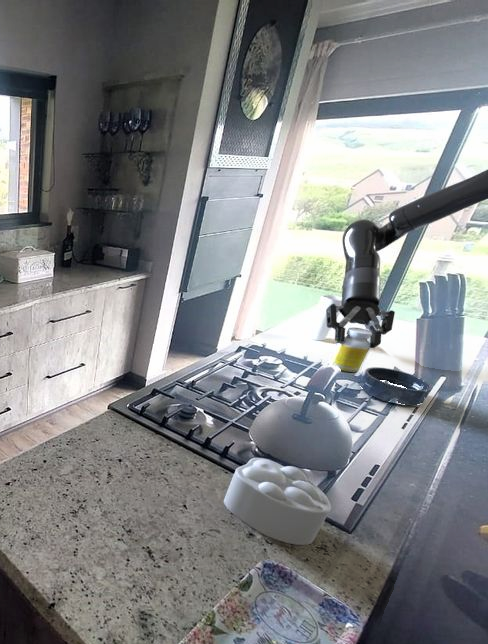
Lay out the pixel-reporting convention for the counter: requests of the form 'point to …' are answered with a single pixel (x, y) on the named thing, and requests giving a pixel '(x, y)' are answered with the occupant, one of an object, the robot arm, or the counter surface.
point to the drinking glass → (322, 317)
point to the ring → (410, 396)
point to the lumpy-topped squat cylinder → (277, 501)
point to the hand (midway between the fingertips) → (357, 344)
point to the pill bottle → (351, 351)
